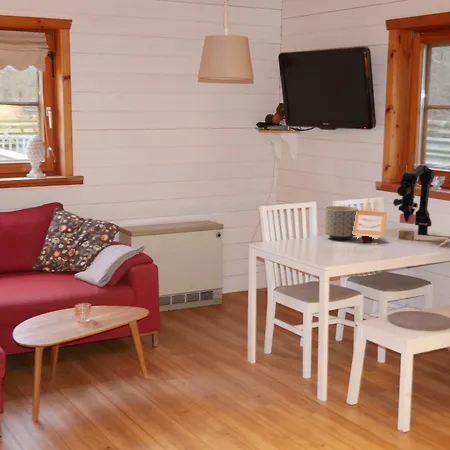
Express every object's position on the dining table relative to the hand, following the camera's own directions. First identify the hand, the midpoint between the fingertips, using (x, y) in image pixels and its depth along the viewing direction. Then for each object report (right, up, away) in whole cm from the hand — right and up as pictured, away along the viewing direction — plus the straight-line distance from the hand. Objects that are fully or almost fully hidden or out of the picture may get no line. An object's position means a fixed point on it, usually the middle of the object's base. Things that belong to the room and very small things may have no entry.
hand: (407, 221), depth 438 cm
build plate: (0, -12, +2) cm, 12 cm away
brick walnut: (0, -11, +2) cm, 11 cm away
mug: (-23, -13, -3) cm, 26 cm away
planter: (-38, -11, +7) cm, 40 cm away
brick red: (0, -1, 0) cm, 1 cm away
